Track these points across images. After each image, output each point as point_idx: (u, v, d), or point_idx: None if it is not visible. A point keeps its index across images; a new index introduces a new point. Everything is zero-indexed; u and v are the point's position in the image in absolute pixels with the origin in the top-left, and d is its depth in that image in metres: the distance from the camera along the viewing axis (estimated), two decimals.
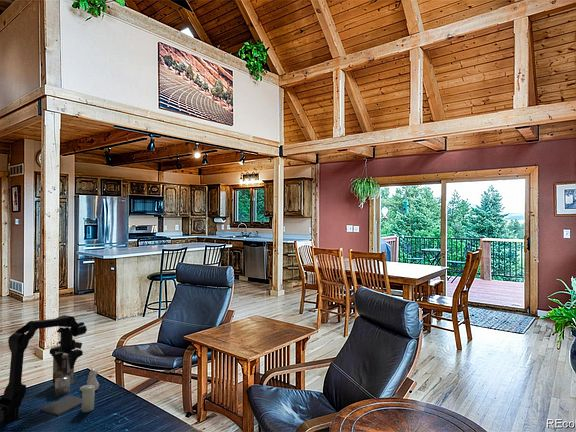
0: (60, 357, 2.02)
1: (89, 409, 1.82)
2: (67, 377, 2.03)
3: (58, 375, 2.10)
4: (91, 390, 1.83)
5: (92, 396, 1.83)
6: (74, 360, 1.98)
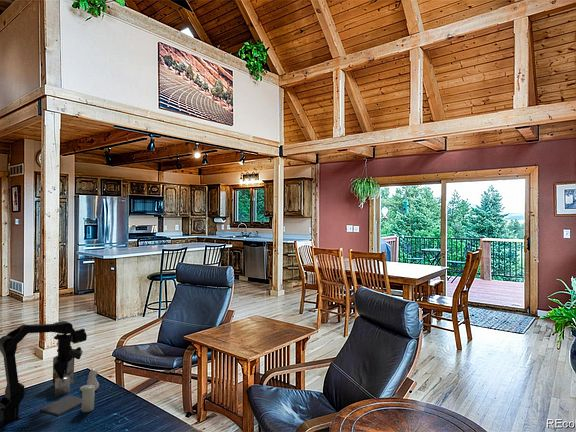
0: None
1: (89, 409, 1.82)
2: (67, 377, 2.03)
3: None
4: (91, 390, 1.83)
5: (92, 396, 1.83)
6: (62, 370, 1.87)
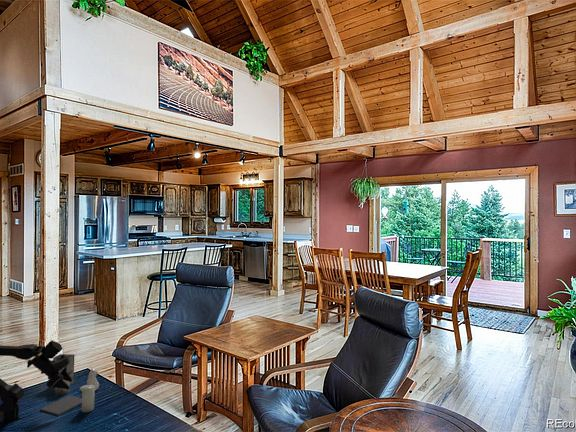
0: (65, 374, 1.84)
1: (89, 409, 1.82)
2: None
3: None
4: (91, 390, 1.83)
5: (92, 396, 1.83)
6: (61, 382, 1.75)
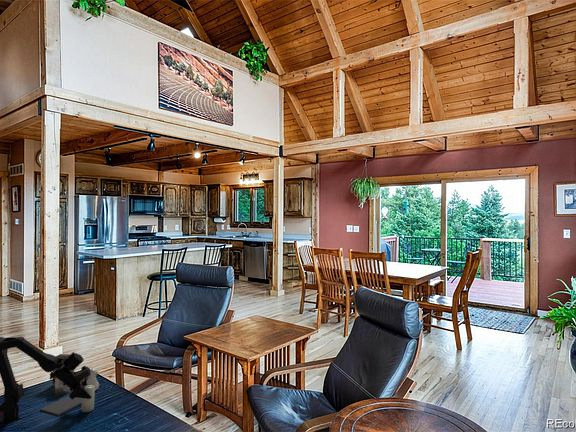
0: None
1: (89, 409, 1.82)
2: None
3: None
4: (91, 390, 1.83)
5: (92, 396, 1.83)
6: (84, 392, 1.79)
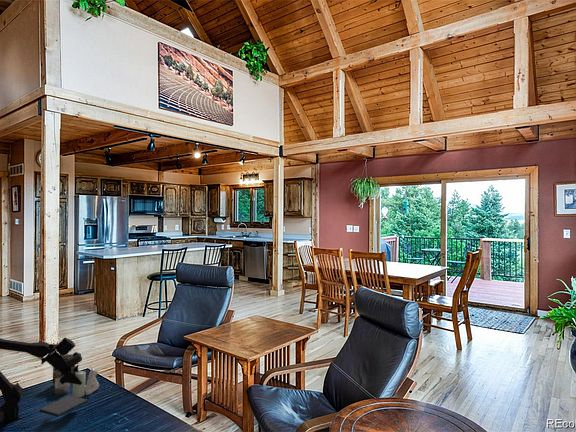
0: None
1: (79, 395, 1.83)
2: None
3: (58, 375, 2.10)
4: (82, 376, 1.84)
5: (83, 382, 1.84)
6: (74, 378, 1.81)
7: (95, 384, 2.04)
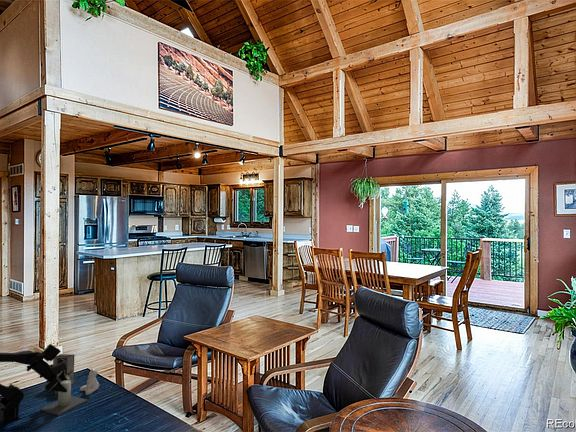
0: (63, 377, 1.91)
1: (65, 404, 1.85)
2: (67, 377, 2.03)
3: None
4: (67, 385, 1.86)
5: (68, 391, 1.86)
6: (60, 386, 1.81)
7: (95, 384, 2.04)
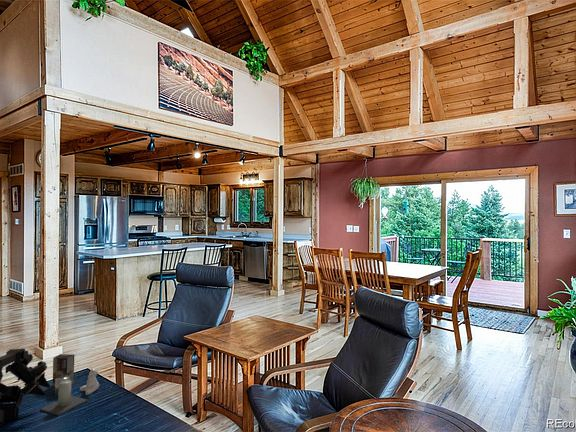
0: (42, 380, 1.87)
1: (65, 404, 1.85)
2: (67, 377, 2.03)
3: (58, 375, 2.10)
4: (68, 385, 1.86)
5: (68, 391, 1.86)
6: (37, 389, 1.77)
7: (95, 384, 2.04)
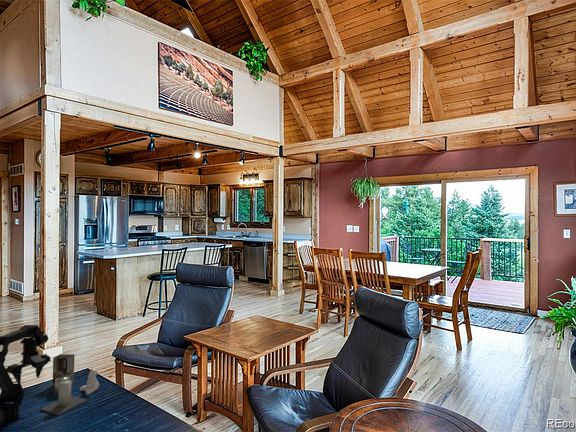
0: (39, 368, 1.90)
1: (65, 404, 1.85)
2: (67, 377, 2.03)
3: (58, 375, 2.10)
4: (68, 385, 1.86)
5: (68, 391, 1.86)
6: None
7: (95, 384, 2.04)
